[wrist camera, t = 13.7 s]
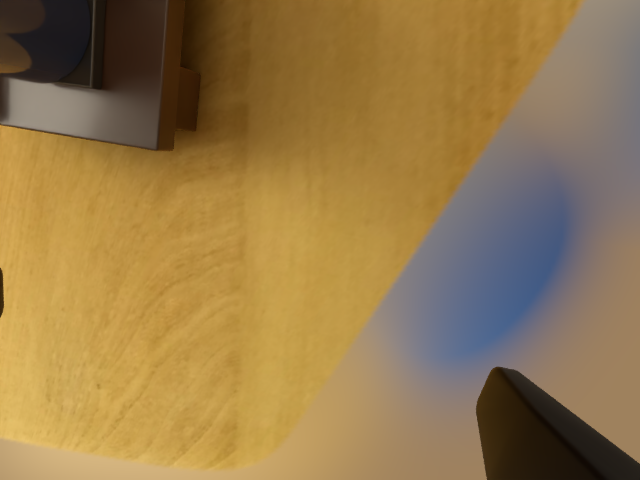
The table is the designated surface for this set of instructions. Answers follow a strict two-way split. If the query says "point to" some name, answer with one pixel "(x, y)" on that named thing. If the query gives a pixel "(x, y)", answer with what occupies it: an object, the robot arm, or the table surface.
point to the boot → (53, 41)
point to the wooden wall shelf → (119, 85)
